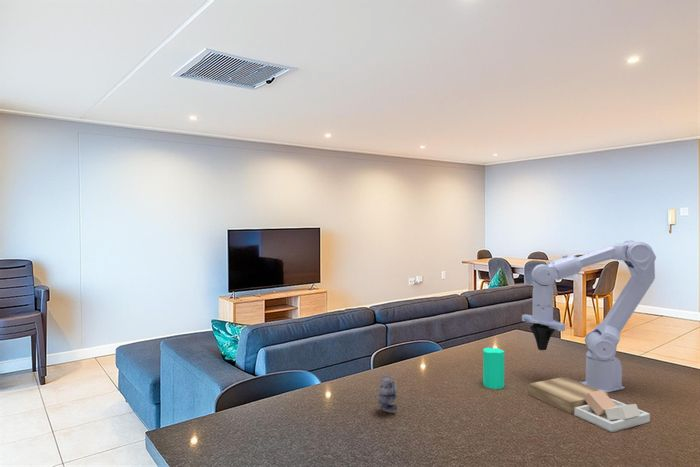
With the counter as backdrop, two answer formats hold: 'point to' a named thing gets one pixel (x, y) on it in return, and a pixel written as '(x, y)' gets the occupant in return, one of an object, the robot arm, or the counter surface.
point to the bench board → (561, 393)
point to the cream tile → (622, 412)
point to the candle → (493, 368)
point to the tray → (610, 425)
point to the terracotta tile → (599, 402)
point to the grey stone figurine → (387, 394)
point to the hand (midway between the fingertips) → (542, 349)
